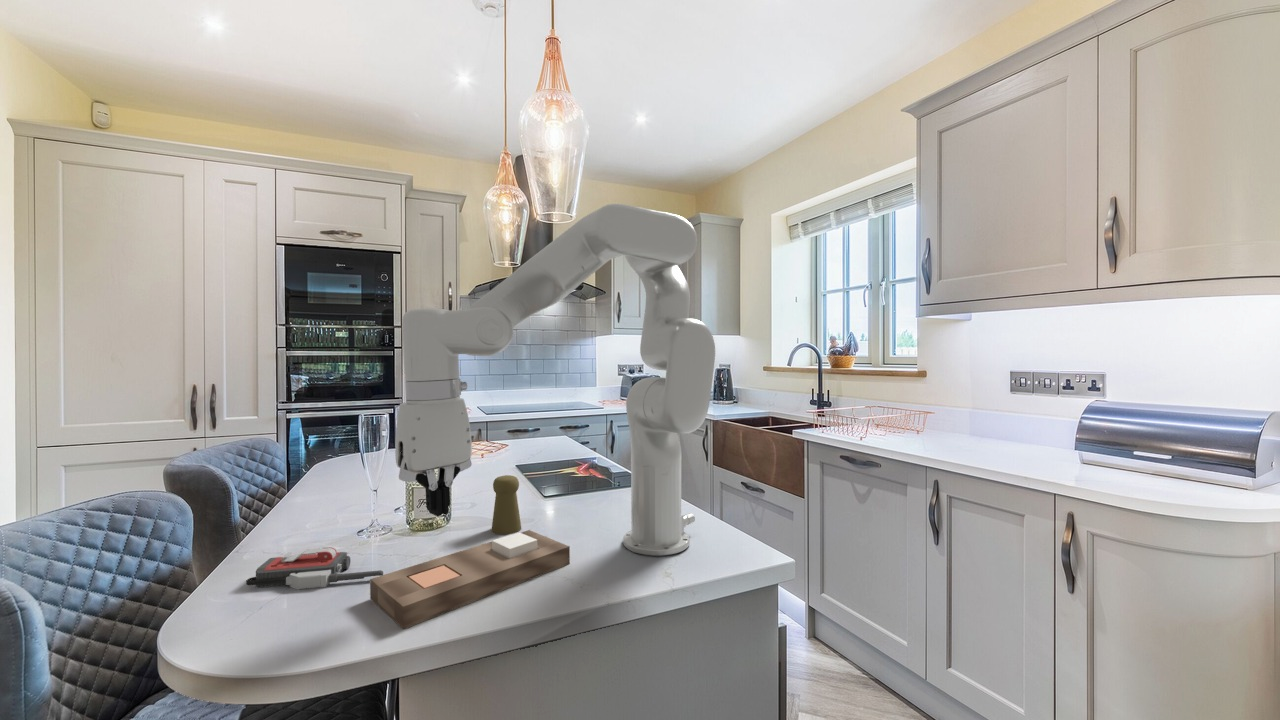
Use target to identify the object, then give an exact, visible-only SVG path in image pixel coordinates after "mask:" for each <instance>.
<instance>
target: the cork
mask: <svg viewBox="0 0 1280 720" xmlns="http://www.w3.org/2000/svg"><path fill="white" fill-rule="evenodd" d="M519 487H520V482H519V479H518V477H517V476H515V475H509V474H507V475H506V474H505V475H501V476H497V477H496V478H495V479H494V480H493V483H492V488H493V492H494V493H495V498H494V499H495V500H494V506H493V507H494V508H493V513H492V514H493V515H492V523H491V533H493V534H494V535H501V536H502V535H506V536H507V535H512V534H516V533H519V532H520V531H521V530H522V523H521V515H520V509H519V502H518V501H519V500H518V495H517V492H518V490H519Z"/></svg>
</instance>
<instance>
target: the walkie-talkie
mask: <svg viewBox="0 0 1280 720" xmlns="http://www.w3.org/2000/svg"><path fill="white" fill-rule="evenodd" d="M350 565H351V557H350V555H348V552H345V551H339V552H337V550H336V548H335V547H322V548H319V547H317V548H308V549H306V550H305V551H303V552H302V553H300V554H297V555H292V552H287V553H286V554H284V556H278V557H269V559H267V560H266V561H265V562H264V563H262V564H261V565H260V566H258V567H257V568H256V569H255V576H252V577H249V578H247V579H246V581H245V585H246V586H255V587H256V588H257V589H263V588H272V587H282V586H283V585H284V586H285V585H287V586H289V587H290V588H292V587H293V589H296V590H303V589H304V590H305V589H306V588H307V589H315V588H327V587H328V586H329V584H330V583H337V582H340V581H341V582H342V581H350V580H351V581H352V580H363V579H365V578H368V577H379V576H382V575H384V571H383V570H370V571H360V572H345V573H342V572H343V571H344V570H348V569H349V568H350ZM279 585H280V586H279ZM281 585H282V586H281ZM284 586H283V587H284Z"/></svg>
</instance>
